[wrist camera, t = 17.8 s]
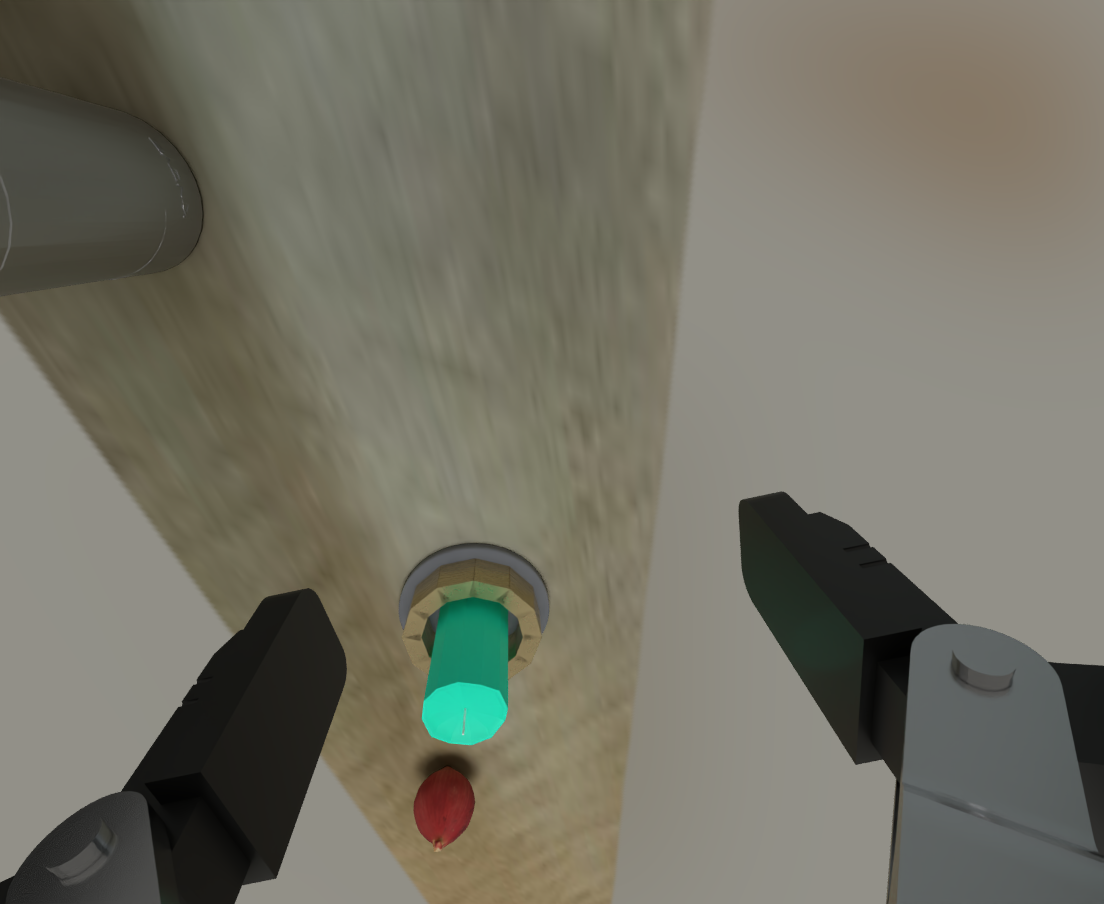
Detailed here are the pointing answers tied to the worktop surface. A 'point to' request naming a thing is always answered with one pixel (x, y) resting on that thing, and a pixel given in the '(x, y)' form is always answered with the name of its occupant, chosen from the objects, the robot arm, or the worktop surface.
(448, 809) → the onion
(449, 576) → the collar
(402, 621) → the dish
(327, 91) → the worktop surface
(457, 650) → the candle
